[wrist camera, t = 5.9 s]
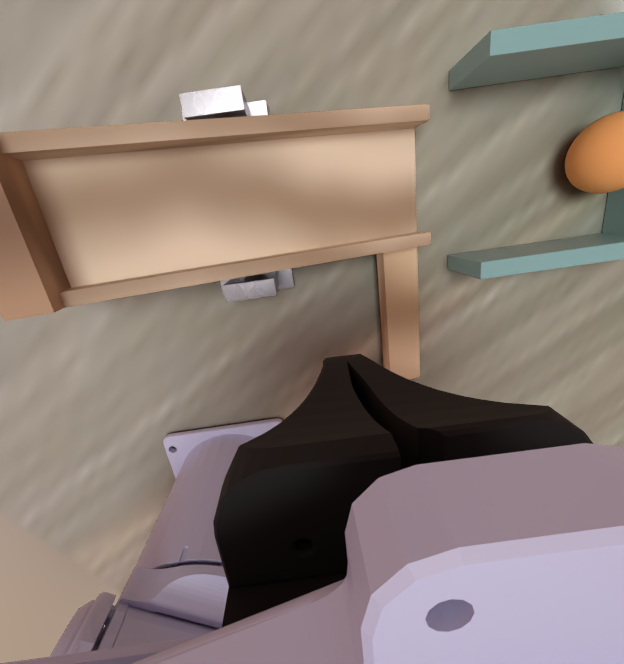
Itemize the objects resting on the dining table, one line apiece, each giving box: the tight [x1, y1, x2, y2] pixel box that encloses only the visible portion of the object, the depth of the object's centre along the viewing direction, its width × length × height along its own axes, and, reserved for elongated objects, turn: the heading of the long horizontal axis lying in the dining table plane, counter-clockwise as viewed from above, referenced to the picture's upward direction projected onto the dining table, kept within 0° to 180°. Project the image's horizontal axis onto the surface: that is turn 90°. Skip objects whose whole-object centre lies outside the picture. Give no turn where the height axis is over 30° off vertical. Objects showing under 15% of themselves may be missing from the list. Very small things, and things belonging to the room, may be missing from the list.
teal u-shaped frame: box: [448, 12, 624, 279], centre depth 15 cm, size 10×10×4 cm
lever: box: [0, 104, 431, 379], centre depth 15 cm, size 14×18×3 cm
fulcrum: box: [179, 85, 294, 302], centre depth 15 cm, size 9×4×3 cm, turn 8°
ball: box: [565, 111, 624, 194], centre depth 16 cm, size 4×4×4 cm
